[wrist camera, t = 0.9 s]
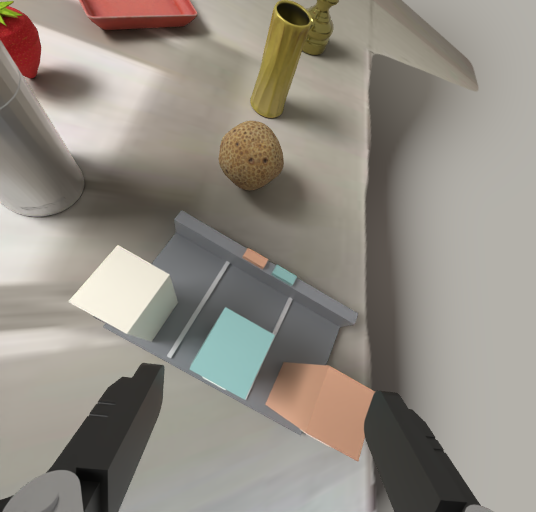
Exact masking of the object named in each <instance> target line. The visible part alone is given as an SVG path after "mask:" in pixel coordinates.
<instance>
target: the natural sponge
mask: <svg viewBox="0 0 536 512" xmlns="http://www.w3.org/2000/svg"><path fill="white" fill-rule="evenodd" d="M219 164H220V167H221V168H222V170H223V172H224V173H225V175H226V176H227V177H228V178H229V179H230V180H231V181H232V182H233V183H234V184H235V185H237V186H238V187H239V188H242V189H244V190H256V189H258V188H261V187H263V186H264V185H266V184H268V183H269V182H270V181H272V180H273V179H274V178H276V177H277V176H278V175H279V174H280V173H281V171H282V168H283V164H284V162H283V153H282V149H281V146H280V144H279V141H278V139H277V138H276V136H275V134H274V133H273V131H272V130H271V129H270V128H269V127H268V126H266V125H265V124H263V123H261V122H256V121H246V122H243V123H241V124H239V125H237V126H236V127H234V128H233V129H232V130H230V131H229V132H228V133H227V134H226V135H225V136H224V137H223V139H222V141H221V145H220V154H219Z"/></svg>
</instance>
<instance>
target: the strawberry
mask: <svg viewBox="0 0 536 512" xmlns="http://www.w3.org/2000/svg"><path fill="white" fill-rule="evenodd" d="M12 3H13V1H9V2H0V40H1V41H2V43H3V45H4V46H5V48H6V50H7V51H8V53H9V54H10V56H11V58H12V59H13V61H14V62H15V64H16V65H17V67H18V69H19V70H20V72H21V74H22V75H24V76H25V77H28V78H34V77H35V76H36V75H37V70H38V67H39V64H40V56H41V44H40V39H39V35H38V31H37V29H36V27H35V26H34V24H33V23H32V22H31V20H30V19H29V18H28V16H26V15H25V14H24V13H22V12H20V11H19V10H17V9H15V8H12V7H9V5H10V4H12Z"/></svg>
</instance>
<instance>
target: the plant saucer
mask: <svg viewBox="0 0 536 512" xmlns="http://www.w3.org/2000/svg"><path fill="white" fill-rule="evenodd" d="M79 1H80V3H81V5H82V7H83V9H84V11H85V13H86V15H87V16H88V17H89V19H90V20H91V21H93V22H94V23H95V24H96V25H97V26H99V27H100V28H102V29H104V30H119V29H140V28H161V27H182V26H185V25H187V24H188V23H190V22H191V21H192V20H193V19H194V18H195V17H196V16H197V14H198V13H197V11H196V10H195V8H194V6H193V5H192V3H191V2H190V0H79Z"/></svg>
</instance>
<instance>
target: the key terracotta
mask: <svg viewBox="0 0 536 512" xmlns="http://www.w3.org/2000/svg"><path fill="white" fill-rule="evenodd" d="M374 393H375V392H374V391H373V390H371V389H369V388H368V387H366V386H364V385H362V384H361V383H359V382H357V381H355V380H354V379H352V378H350V377H348V376H347V375H345V374H343V373H341V372H340V371H338V370H336V369H334V368H333V367H331V366H327V365H314V364H302V363H289V362H283V365H282V367H281V369H280V372H279V374H278V376H277V378H276V381H275V383H274V385H273V388H272V390H271V392H270V395H269V397H268V399H267V402H266V404H265V405H267V406H268V407H269V408H271V409H272V410H274V411H275V412H277V413H278V414H279V415H281V416H282V417H284V418H285V419H287V420H288V421H290V422H291V423H292V424H294V425H295V426H297V427H298V428H300V430H301V431H303V432H304V433H306V434H307V435H309V436H310V437H312V438H314V439H316V440H318V441H319V442H321V443H323V444H325V445H327V446H329V447H332V448H334V449H336V450H338V451H340V452H342V453H343V454H345V455H347V456H349V457H351V458H352V459H354V460H356V461H359V457H360V453H361V449H362V446H363V442H364V438H365V434H364V421H365V418H366V415H367V412H368V409H369V406H370V403H371V400H372V397H373V395H374Z"/></svg>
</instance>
